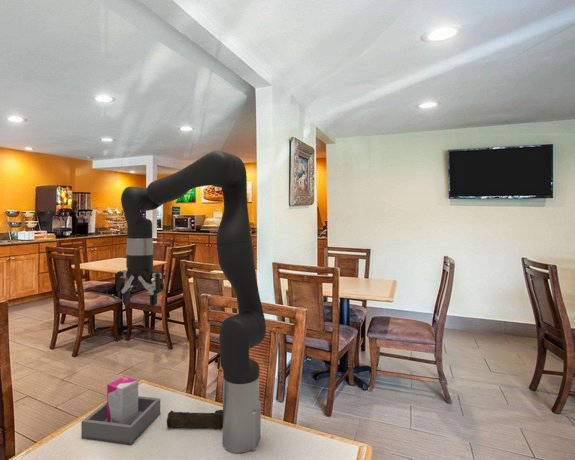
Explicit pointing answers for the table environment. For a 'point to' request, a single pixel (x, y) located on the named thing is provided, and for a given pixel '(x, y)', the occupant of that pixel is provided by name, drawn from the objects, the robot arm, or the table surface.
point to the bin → (120, 433)
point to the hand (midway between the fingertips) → (139, 305)
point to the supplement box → (122, 401)
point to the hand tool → (196, 419)
